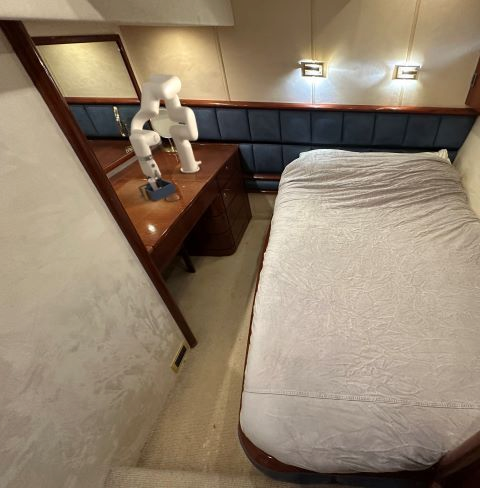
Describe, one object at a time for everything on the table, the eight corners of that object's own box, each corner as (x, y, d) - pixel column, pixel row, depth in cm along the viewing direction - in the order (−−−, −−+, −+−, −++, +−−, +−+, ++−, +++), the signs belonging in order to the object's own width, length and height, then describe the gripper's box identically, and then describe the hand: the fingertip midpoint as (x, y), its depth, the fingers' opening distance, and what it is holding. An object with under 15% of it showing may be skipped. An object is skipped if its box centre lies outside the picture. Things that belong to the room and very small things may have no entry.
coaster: (173, 194, 165) (173, 193, 165) (182, 197, 163) (182, 196, 162) (163, 199, 160) (162, 198, 159) (171, 202, 157) (171, 202, 157)
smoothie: (166, 191, 167) (159, 170, 158) (162, 196, 162) (154, 175, 153) (156, 191, 167) (148, 170, 158) (151, 196, 162) (142, 174, 153)
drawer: (162, 186, 172) (158, 174, 166) (176, 191, 168) (172, 179, 162) (139, 197, 160) (134, 184, 155) (153, 202, 156) (148, 190, 151)
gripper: (161, 158, 149) (171, 187, 161) (141, 152, 155) (152, 179, 166) (149, 163, 144) (160, 192, 156) (128, 156, 150) (141, 184, 161)
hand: (156, 185), depth 161 cm, fingers closed on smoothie, 6 cm apart
